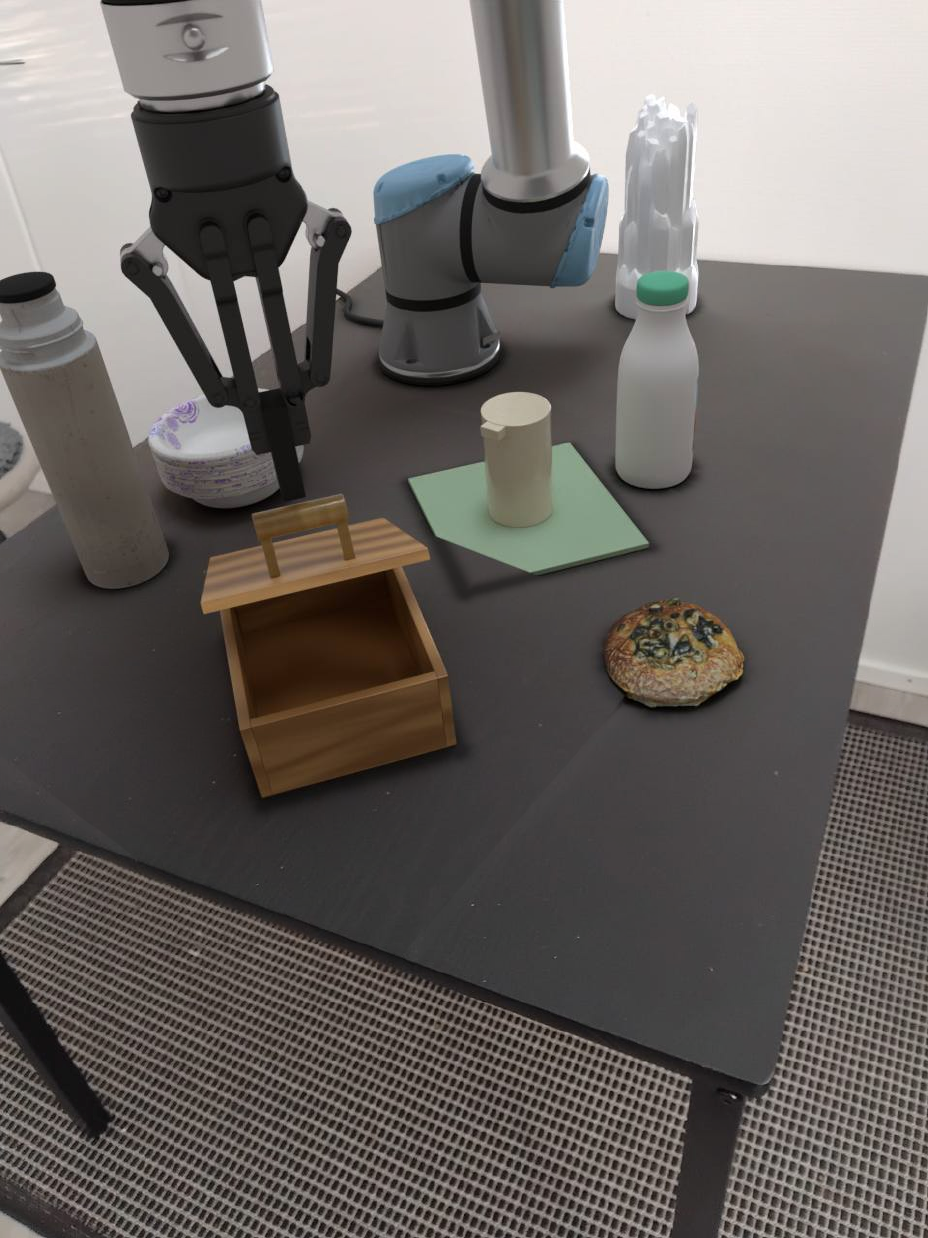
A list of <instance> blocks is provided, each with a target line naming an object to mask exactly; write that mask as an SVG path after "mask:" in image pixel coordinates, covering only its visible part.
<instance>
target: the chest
mask: <svg viewBox="0 0 928 1238" xmlns="http://www.w3.org/2000/svg"><path fill="white" fill-rule="evenodd" d="M219 614H220V620H221V627H222V631H223V638H224V644H225V650H226V651H225V652H226V657H227V663H228V667H229V673H230V680H231V681H230V682H231V686H232V693H233V698H234V704H235V710H236V717H237V722H238V728H239V733H240V736H241V738H242V741H243V745H244V747H245V751H246V754H247V757H248V760H249V763H250V766H251V769H252V773H253V775H254V778H255V781H256V784H257V787H258V791H259V793H260V797H261V798H262V799H264V798H267V797H271V796H274V795H278V794H281V793H282V794H283V793H286V792H290V791H292V790H296V789H300V788H303V787H307V786H312V785H314V784H318V783H321V782H325V781H328V780H329V781H330V780H332V779H336V778H340V777H343V776H347V775H350V774H353V773H357V772H362V771H364V770H368V769H373V768H376V767H380V766H383V765H387V764H390V763H394V762H397V761H401V760H405V759H408V758H412V757H416V756H419V755H423V754H427V753H430V752H433V751H437V750H441V749H444V748H445V749H446V748H448V747H451V746H456V745H457V736H456V735H457V734H456V728H455V719H454V712H453V702H452V695H451V688H450V680H449V674H448V671H447V669H446V667H445V664H444V662H443V660H442V657H441V655H440V653H439V651H438V648H437V646H436V643H435V641H434V638H433V637H432V633H431V631H430V629H429V626H428V624H427V621H426V619H425V618H424V615H423V612H422V611H421V608H420V606H419V604H418V601H417V599H416V596H415V594H414V592H413V589H412V586H411V584H410V582H409V579H408V577H407V575H406V573H405V570H404V568H403V566H402V567H398V568H394V569H390V570H386V571H381V572H377V573H373V574H369V575H365V576H361V577H357V578H352V579H348V580H344V581H340V582H336V583H332V584H328V585H324V586H319V587H315V588H311V589H307V590H303V591H299V592H295V593H290V594H286V595H282V596H278V597H274V598H270V599H266V600H261V601H257V602H253V603H249V604H245V605H241V606H237V607H232V608H228V609H224V610H220V611H219Z"/></svg>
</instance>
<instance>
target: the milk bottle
mask: <svg viewBox="0 0 928 1238" xmlns="http://www.w3.org/2000/svg"><path fill="white" fill-rule="evenodd" d="M688 290H689V281H688V278H687V277H686V276H685V275H683V274H681V273H678V272H674V271H655V272H650V273H647V274H644V275H643V276H641V277H640V278H639V279H638V282H637V300H636V303H637V305H638V306H639V310H638V315H637V318H636V319H635V322H634V324H633V326H632V328H631V331H630V333H629V335H628V337H627V339H626V341H625V343H624V345H623V347H622V350H621V354H620V357H619V362H618V370H617V385H616V409H615V410H616V413H615V450H614V451H615V453H614V457H615V459H614V461H615V462H614V463H615V471H616V472H617V475H618V476H619V478H620V479H621V480H623V481H624V482H625V483H627V484H629V485H631V486H634V487H637V488H643V489H650V490H657V489H658V490H659V489H666V488H671V487H674V486H676V485H679V484H680V483H682V482H684V481H685V480H686V479H687V478H688V476H689V475H690V473H691V471H692V467H693V458H694V446H695V436H696V435H695V434H696V422H697V421H696V420H697V410H698V409H697V408H698V407H697V406H698V396H699V395H698V394H699V379H700V378H699V377H700V376H699V375H700V373H699V372H700V367H699V363H700V362H699V356H698V355H699V354H698V351H697V350H698V349H697V347H696V343H695V341H694V338H693V336H692V334H691V330H690V328H689V325H688V322H687V317H686V315H685V311H684V308H685V305H686V304H687V302H688V300H687V296H688Z"/></svg>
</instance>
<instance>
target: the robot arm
mask: <svg viewBox="0 0 928 1238" xmlns="http://www.w3.org/2000/svg"><path fill="white" fill-rule="evenodd" d="M468 1H469V2H468V3H469V8H470V14H471V15H470V16H471V22H472V28H473V29H472V30H473V35H474V42H475V48H476V49H475V50H476V57H477V63H478V68H479V76H480V84H481V90H482V95H483V96H482V98H483V104H484V111H485V117H486V118H485V119H486V124H487V131H488V137H489V145H490V146H489V147H490V152H491V154H490V156H488V158H487V159H486V161H485V162H484V163H483V166H482V167H481V170H480V173H476V172H475V168H476V166H475V165H474V163H473V161H472V158H471V157H470V156H468V155H462V154H459V153H449V154H440V155H434V156H429V157H424V158H419V159H417V160H413V161H410V162H407V163H404V164H401V165H399V166H396V167H394V168H393V169H390V170H389V171H387V172H385V173H384V174H382V175H381V176H380V177H379V178H378V179H377V181H376V183H375V185H374V187H373V191H372V194H373V208H374V210H373V211H374V218H373V223H374V225H375V229H376V236H377V243H378V250H379V257H380V265H381V271H382V272H381V273H382V278H383V284H384V291H385V300H386V301H385V302H386V308H385V312H384V319H383V320H382V319H377V318H371V317H365V316H361V315H357V314H354V313H353V312H351V311H350V309H351V307H352V304H353V301H352V298H351V296H350V295H349V294H348V293H347V292H345V291H343V290H341V289H339V288H338V277H339V265H340V261H341V259H342V257H343V255H344V252H345V250H346V249H347V246H348V243H349V241H350V239H351V237H352V232H353V231H352V226H351V224H350V223H349V222H348V220H347V218H346V217H345V216H344V214H343V212H342V211H341V210H340V209H339V208H336V207H331V208H328V209H327V208H325V207H323V206H320V205H318V204H317V203H315V202H312V201H310V200H308V196H307V194H306V192H305V190H304V188H303V187H302V185H301V183H300V182H299V181H298V180H297V178H296V176H295V174H294V169H293V166H292V160H291V155H290V149H289V143H288V137H287V132H286V126H285V122H284V121H285V120H284V116H283V115H284V114H283V109H282V105H281V98H280V94H279V93H278V92H277V91H276V90H275V89H274V87H272V86H271V85H269V84H267V83H265V82H266V81H267V80H268V79H269V78H270V77H271V76H272V74H273V72H274V71H275V66H274V61H273V56H272V53H271V47H270V46H271V45H270V40H269V34H268V29H267V24H266V18H265V14H264V9H263V8H264V7H263V3H262V2H263V1H262V0H100V1H99V4H100V8H101V12H102V15H103V20H104V23H105V27H106V30H107V33H108V37H109V40H110V44H111V48H112V52H113V55H114V58H115V62H116V66H117V69H118V73H119V77H120V80H121V84H122V88H123V91H124V92H125V93H126V94H128V95H129V96H131V97H133V98H134V99H138V100H137V103H135V105H134V106H133V109H132V110H133V111H132V112H131V113H130V119H131V122H132V126H133V129H134V134H135V138H136V142H137V144H138V149H139V152H140V156H141V159H142V163H143V166H144V170H145V174H146V178H147V182H148V185H149V189H150V194H151V200H150V201H151V202H150V206H149V210H148V220H149V227H148V228H147V229H146V230H145V231H144V232H143V233H142V234H141V235H140V236H139V237H137V239H136V240H135V242H127V243H125V244H123V245H122V246H121V248H120V251H119V260H120V271H121V274H123V276H124V277H125V278H126V279H127V280H129V282H131V283H132V284H133V285H134V286H135V287H136V288H138V290H140V291H141V293H143V294H144V295H145V296H146V297H148V298H149V299H150V301H151V303H152V305H153V307H154V309H155V311H156V312H157V314H158V315H159V318H160V319H161V321H162V323H163V324H164V326H165V328H166V330H167V331H168V333H169V335H170V338H172V341H173V342H174V344H175V346H176V347H177V349H178V351H179V352H180V354H181V356H182V359H184V362H185V363H186V364H187V367H188V368H189V370H190V372H191V374H192V375H193V377H194V379H195V381H196V383H197V384H198V386H199V388H200V390H201V391H202V393H203V395H205V396H206V398H207V400H208V402H209V403H210V404H211V406H213V407H215V408H221V407H224V406H225V405H227V406H234V407H236V408H238V409H240V410H241V412H242V413H243V416H244V420H245V424H246V428H247V432H248V436H249V440H250V444H251V448H252V450H253V451H254V453H255V454H256V455H260V454H264V453H269V452H271V455H272V459H273V463H274V468H275V472H276V476H277V481H278V484H279V491H280V494H281V498H282V501H283V503H285V502H291V501H294V500H300V499H304V498H307V495H306V490H305V484H304V482H303V481H304V479H303V476H302V472H301V467H300V462H298V457H297V452H296V448H295V447H296V446H301V445H303V446H306V445H309V444H310V443H311V439H312V431H311V428H310V423H309V418H308V413H307V407H306V403H305V402H306V396H307V394H308V393H309V392H310V391H312V390H313V389H314V388H316V387H317V388H324V387H325V386H328V384H329V382H330V380H331V373H332V359H333V346H334V332H335V317H336V304H337V296H339V297H340V298H342V299H344V300H345V303H344V306H343V314H344V316H345V317H346V318H347V319H349V320H352V321H354V322H356V323H360V324H365V325H372V326H377V327H382V330H381V334H380V341H379V346H378V348H379V349H378V356H379V364H380V368H381V370H382V372H383V373H385V374H386V375H387V376H388V377H389V378H391V379H393V380H396V381H399V382H401V383H403V384H409V385H416V386H443V385H451V384H456V383H461V382H465V381H467V380H471V379H474V378H476V377H478V376H481V375H483V374H484V373H486V372H488V371H489V370H490V369H492V368H493V367H494V366H496V364H497V363H498V361H499V360H500V356H501V344H500V339H501V334H500V331H497V329H496V327H495V324H494V322H493V319H492V317H491V314H490V312H489V309H488V307H487V304H486V301H485V299H484V297H483V294H482V284H495V285H496V284H497V285H498V284H499V285H513V286H514V285H515V286H535V287H549V288H550V289H555V288H557V287H558V288H559V287H561V288H562V287H563V288H564V287H565V288H567V287H568V288H569V287H570V288H571V287H574V288H577V287H580V286H583V285H585V284H586V283H587V282H588V281H589V280H590V279H591V278H592V276H593V274H594V271H595V269H596V266H597V263H598V261H599V260H598V259H599V256H600V253H601V248H602V244H603V240H604V233H605V228H606V224H607V223H606V221H607V216H608V207H609V196H610V186H609V181H608V178H607V176H605V175H601V174H600V173H594V174H591V162H590V156H589V154H588V152H587V150H586V149H585V148H584V147H583V146H582V145H581V144H579V143H578V142H577V141H574V133H573V131H574V130H573V117H572V116H573V115H572V104H571V90H570V89H571V88H570V76H569V63H568V50H567V36H566V34H567V33H566V23H565V8H564V0H468ZM302 223H304V224H305V231H304V235H305V238H306V240H307V242H308V244H309V245H310V254H309V268H308V284H307V286H308V287H307V303H306V305H307V306H306V321H305V323H306V324H305V335H304V336H305V338H304V341H305V342H304V355H303V357H304V358H303V360H302V361H301V362H299V363H298V360H297V356H296V355H297V354H296V350H295V346H294V340H293V336H292V335H293V334H292V331H291V326H290V325H291V324H290V320H289V317H288V312H287V306H286V301H285V296H284V289H283V284H282V279H281V274H280V273H281V272H280V269H279V268H280V267H281V266H282V265H283V264H284V262H285V261H286V258H287V256H288V254H289V252H290V249H291V247H292V245H293V244H294V241H295V239H296V237H297V235H298V232H299V231H300V228H301V226H302ZM165 246H166V248H168V249H169V250H170V251H171V252H172V253H174V254H175V255H176V256H177V257H178V258H179V259H180V260H181V261H183V262H184V263H185V264H186V265H187V266H188V267H189V268H190V269H192V270H193V271H194V272H195V273H196V274H197V275H198V276H200V277H201V278H202V279H205V280H207V281H209V282H210V286H211V289H212V293H213V298H214V301H215V302H214V303H215V305H216V310H217V315H218V318H219V323H220V326H221V331H222V335H223V339H224V342H225V347H226V349H227V350H226V351H227V355H228V359H229V363H230V364H229V365H230V367H231V371H232V375H233V377H227V376H223V374H222V372H221V370H220V369H219V367H218V365H217V363H216V361H215V360H214V357H213V356H212V354H211V352H210V350H209V347H207V345H206V342H205V341H204V340H203V337H202V336H201V334H200V331H199V330H198V328H197V326H196V324H195V323H194V321H193V318H192V317H191V315H190V313H189V311H188V310H187V307H186V306H185V304H184V302H183V301H182V299H181V297H180V295H179V293H178V291H177V290H176V287H175V286H174V284H173V282H172V280H171V279H170V277H169V276H168V275H167V274H168V272H169V263H168V261H169V260H168V258H167V256H166V255H165V253H164V249H165ZM244 277H245V278H246V277H249V278H255V281H256V286H257V290H258V295H259V299H260V305H261V308H262V314H263V318H264V322H265V327H266V332H267V337H268V341H269V345H270V349H271V354H272V359H273V364H274V367H275V372H276V377H277V381H278V384H279V387H278V388H273V389H267V390H268V391H263V392H259V391H258V388H259V387H258V382H257V379H256V375H255V370H254V366H253V362H252V361H253V360H252V357H251V354H250V348H249V344H248V340H247V339H248V338H247V335H246V330H245V327H244V322H243V317H242V314H241V309H240V304H239V300H238V295H237V289H236V287H235V282H236V281H238V280H240V279H242V278H244Z"/></svg>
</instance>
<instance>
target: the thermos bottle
mask: <svg viewBox="0 0 928 1238" xmlns="http://www.w3.org/2000/svg"><path fill="white" fill-rule="evenodd" d="M56 287H57V282H56V280H55V277H54V275H53V274H52V273H50V272H46V271H26V272H21V273H17V274H13V275H10V276H7V277H4V278H1V279H0V319H1V321H0V350H1V351H0V372H1V374H2V378H3V380H4V382H5V384H6V387H7V389H8V391H9V393H10V396H11V398H12V401H13V404H14V405H15V409H16V410H17V413H18V415H19V418H20V420H21V422H22V425H23V428H24V430H25V432H26V434H27V437H28V439H29V441H30V444H31V447H32V450H33V452H34V454H35V457H36V458H37V461H38V463H39V466H40V468H41V470H42V473H43V475H44V478H45V480H46V482H47V485H48V488H49V490H50V492H51V495H52V497H53V499H54V501H55V504H56V507H57V509H58V511H59V514H60V516H61V519H62V521H63V524H64V527H65V528H66V531H67V533H68V535H69V539H70V540H71V543H72V546H73V547H74V550H75V552H76V554H77V557H78V560H79V562H80V564H81V566H82V569H83V571H84V572H83V573H84V574H85V576H86V578H87V580H88V581H89V582H90V583H91V584H93V585H94V586H96V587H98V588H102V589H110V590H115V589H116V590H117V589H125V588H130V587H133V586H137V585H139V584H142V583H144V582H147V581H148V580H150V579H152V578H153V577H155V576H156V575H157V574H159V573H160V572H161V571H162V570H164V568H165V567H166V565H167V563H168V561H169V557H170V552H169V548H168V546H167V542H166V539H165V536H164V533H163V531H162V530H163V529H162V527H161V525H160V522H159V519H158V517H157V513H156V511H155V508H154V504H153V501H152V498H151V495H150V493H149V489H148V486H147V484H146V481H145V478H144V475H143V472H142V469H141V467H140V464H139V462H138V458H137V455H136V453H135V450H134V447H133V444H132V440H131V437H130V434H129V430H128V428H127V426H126V422H125V419H124V416H123V413H122V410H121V408H120V405H119V401H118V398H117V396H116V393H115V390H114V387H113V383H112V381H111V378H110V375H109V371H108V369H107V366H106V363H105V361H104V358H103V355H102V352H101V349H100V346H99V343H98V340H97V337H96V336H95V334H94V333H92V332H91V331H89V330H88V329H84V326H83V325H84V320H83V319H82V318H81V317H80V315H79V312H78V311H77V310H76V309H74V308H73V307H70V306H67V305H64V302H63V299H62V296H61V294H60V292H59V290H57V288H56Z"/></svg>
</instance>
